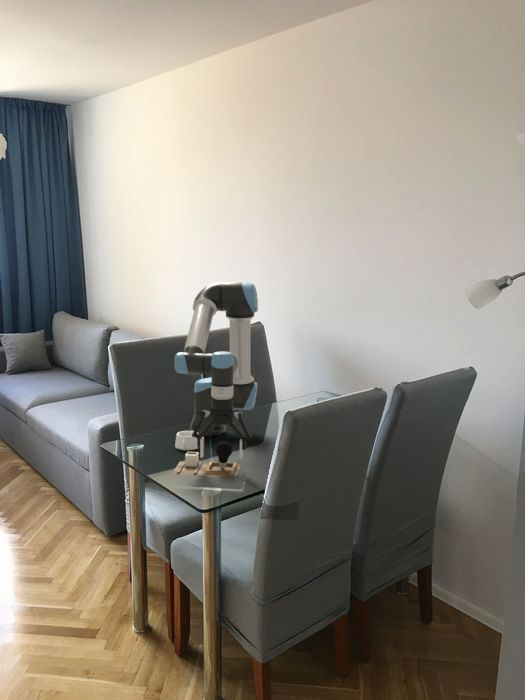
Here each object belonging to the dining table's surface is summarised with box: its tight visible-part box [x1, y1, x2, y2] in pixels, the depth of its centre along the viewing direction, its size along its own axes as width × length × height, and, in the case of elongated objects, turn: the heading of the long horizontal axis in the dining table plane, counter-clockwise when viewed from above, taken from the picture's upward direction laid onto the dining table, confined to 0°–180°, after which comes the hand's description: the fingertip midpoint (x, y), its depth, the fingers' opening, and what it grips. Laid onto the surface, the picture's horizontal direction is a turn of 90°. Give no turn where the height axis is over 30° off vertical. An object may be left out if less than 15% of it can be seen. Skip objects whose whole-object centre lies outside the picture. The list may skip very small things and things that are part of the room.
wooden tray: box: [170, 460, 241, 478], centre depth 207 cm, size 14×22×2 cm, turn 86°
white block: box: [184, 451, 200, 467], centre depth 210 cm, size 4×4×5 cm
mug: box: [174, 430, 199, 451], centre depth 231 cm, size 12×10×6 cm
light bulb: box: [215, 440, 233, 469], centre depth 206 cm, size 6×6×10 cm
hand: (221, 457), depth 206 cm, fingers open, 13 cm apart
